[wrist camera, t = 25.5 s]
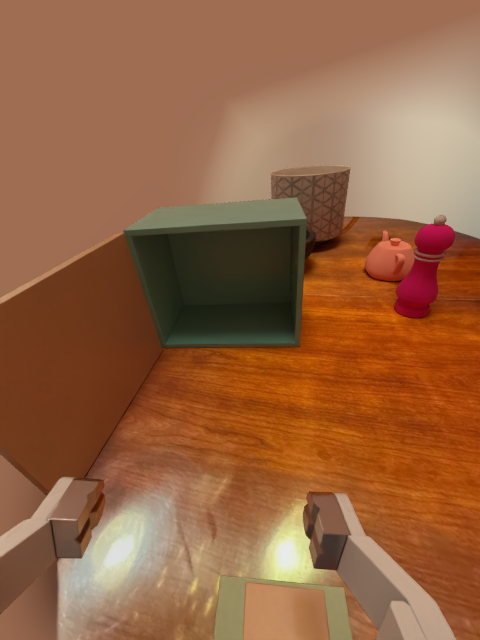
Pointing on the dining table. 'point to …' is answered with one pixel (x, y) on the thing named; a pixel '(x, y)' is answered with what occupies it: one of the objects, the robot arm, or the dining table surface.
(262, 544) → the dining table surface
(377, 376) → the dining table surface
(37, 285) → the brown cabinet door
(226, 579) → the mat
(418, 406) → the dining table surface
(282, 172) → the planter
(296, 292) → the green hollow box
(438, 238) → the pepper mill
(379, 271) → the teapot
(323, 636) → the block
